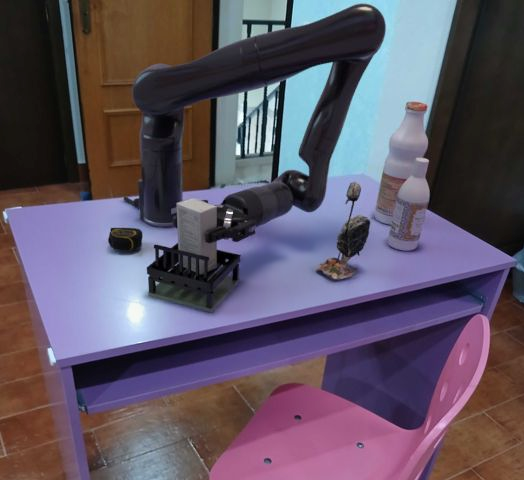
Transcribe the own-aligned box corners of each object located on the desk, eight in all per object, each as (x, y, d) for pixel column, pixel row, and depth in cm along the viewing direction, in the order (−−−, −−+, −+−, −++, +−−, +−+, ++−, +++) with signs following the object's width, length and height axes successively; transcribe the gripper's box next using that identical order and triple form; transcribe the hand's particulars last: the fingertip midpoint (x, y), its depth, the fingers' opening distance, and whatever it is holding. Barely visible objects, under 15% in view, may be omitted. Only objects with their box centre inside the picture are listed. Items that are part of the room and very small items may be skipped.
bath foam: (402, 253, 127) (423, 166, 115) (381, 242, 132) (399, 156, 120) (423, 248, 130) (445, 162, 119) (401, 237, 135) (421, 153, 123)
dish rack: (148, 296, 104) (145, 245, 98) (180, 267, 114) (179, 220, 108) (211, 313, 100) (212, 261, 95) (239, 282, 111) (241, 234, 105)
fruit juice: (375, 210, 149) (398, 97, 132) (411, 216, 147) (438, 102, 131) (371, 222, 141) (394, 104, 125) (408, 229, 139) (437, 110, 123)
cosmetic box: (217, 268, 105) (219, 206, 98) (200, 276, 102) (201, 212, 95) (193, 257, 108) (193, 196, 101) (176, 264, 105) (175, 202, 98)
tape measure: (143, 241, 123) (142, 225, 120) (140, 255, 117) (139, 239, 115) (111, 240, 122) (110, 224, 120) (107, 254, 116) (105, 238, 114)
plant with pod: (373, 274, 118) (393, 181, 106) (329, 284, 113) (345, 187, 101) (350, 258, 123) (367, 168, 112) (307, 266, 118) (320, 173, 107)
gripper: (225, 180, 111) (162, 198, 101) (279, 200, 104) (219, 222, 94) (223, 215, 116) (164, 236, 105) (276, 238, 109) (217, 262, 98)
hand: (190, 230), depth 99 cm, fingers open, 8 cm apart
